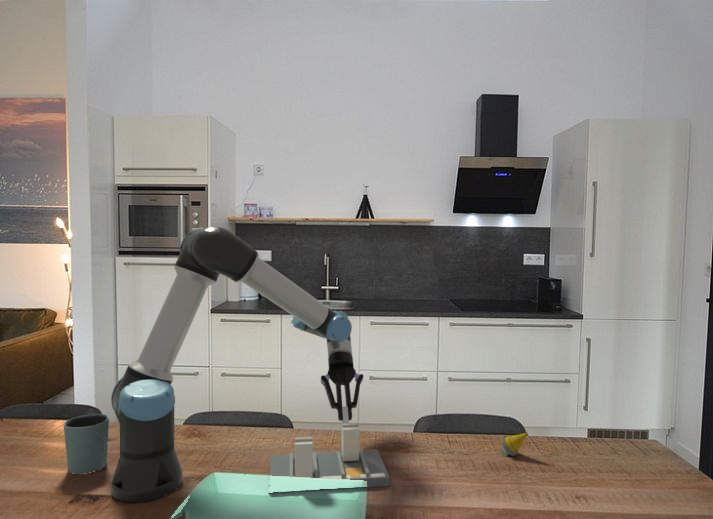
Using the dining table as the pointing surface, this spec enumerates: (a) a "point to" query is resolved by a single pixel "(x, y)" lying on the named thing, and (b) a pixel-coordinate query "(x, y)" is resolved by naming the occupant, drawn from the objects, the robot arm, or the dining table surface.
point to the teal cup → (86, 442)
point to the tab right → (350, 442)
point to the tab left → (304, 457)
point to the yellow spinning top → (512, 444)
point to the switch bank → (337, 467)
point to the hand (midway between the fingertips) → (346, 431)
